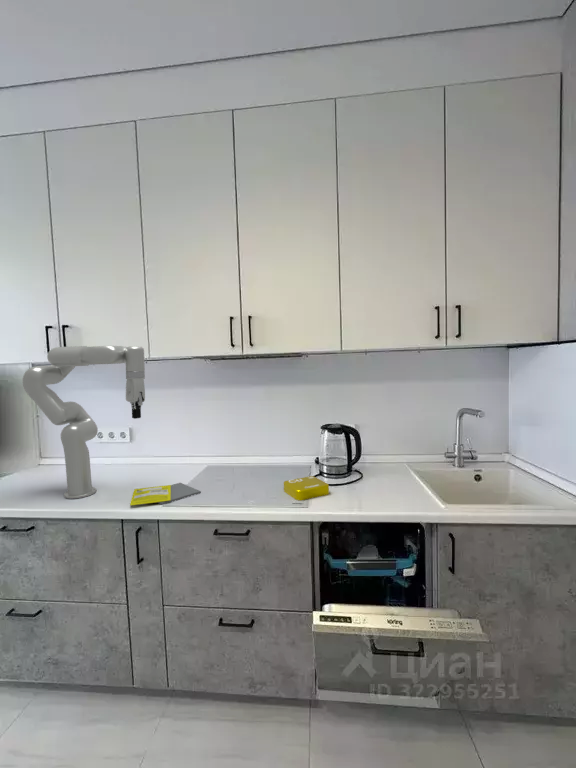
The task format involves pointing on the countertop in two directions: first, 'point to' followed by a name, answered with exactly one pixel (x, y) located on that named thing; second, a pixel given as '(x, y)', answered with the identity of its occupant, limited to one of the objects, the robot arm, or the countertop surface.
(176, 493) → the mat
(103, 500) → the countertop surface
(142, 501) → the food package
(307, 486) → the element tile
